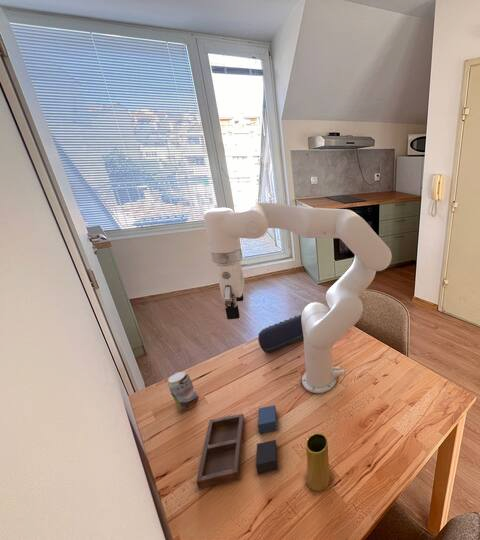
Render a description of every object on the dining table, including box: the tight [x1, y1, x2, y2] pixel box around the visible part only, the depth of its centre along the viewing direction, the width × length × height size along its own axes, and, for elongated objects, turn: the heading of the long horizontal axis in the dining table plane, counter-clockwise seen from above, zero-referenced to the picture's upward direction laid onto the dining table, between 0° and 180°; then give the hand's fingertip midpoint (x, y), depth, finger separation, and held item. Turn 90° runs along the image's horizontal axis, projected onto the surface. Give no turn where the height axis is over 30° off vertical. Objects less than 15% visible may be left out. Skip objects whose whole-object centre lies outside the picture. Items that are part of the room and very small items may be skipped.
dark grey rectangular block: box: [255, 439, 278, 475], centre depth 80 cm, size 5×6×4 cm
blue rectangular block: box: [257, 404, 278, 435], centre depth 90 cm, size 5×6×4 cm
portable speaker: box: [257, 314, 304, 353], centre depth 126 cm, size 25×10×10 cm, turn 130°
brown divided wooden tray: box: [195, 413, 245, 490], centre depth 82 cm, size 10×18×3 cm, turn 15°
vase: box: [305, 432, 331, 492], centre depth 74 cm, size 6×6×14 cm
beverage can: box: [167, 370, 199, 411], centre depth 95 cm, size 6×7×12 cm
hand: (235, 309), depth 86 cm, fingers open, 9 cm apart
